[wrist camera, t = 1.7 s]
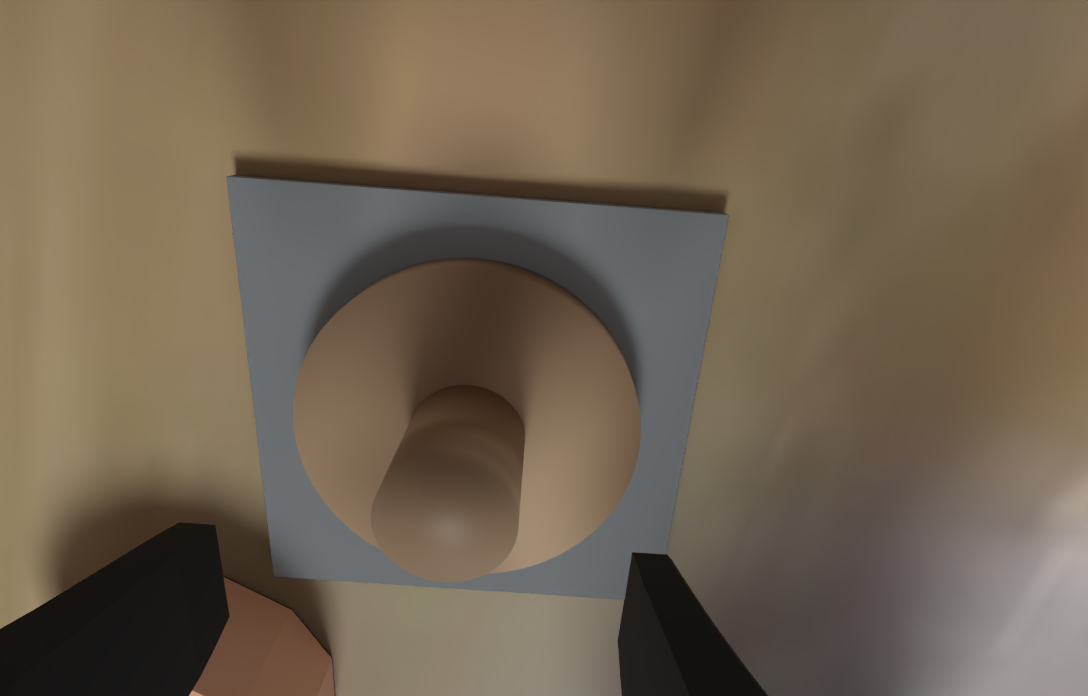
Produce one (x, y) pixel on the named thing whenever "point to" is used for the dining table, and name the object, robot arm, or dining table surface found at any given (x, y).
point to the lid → (467, 418)
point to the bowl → (264, 652)
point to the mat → (486, 233)
